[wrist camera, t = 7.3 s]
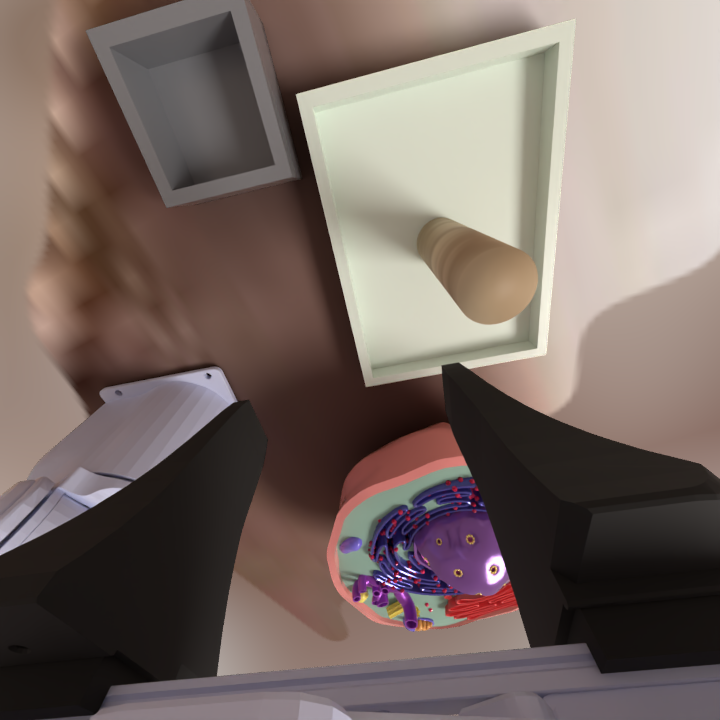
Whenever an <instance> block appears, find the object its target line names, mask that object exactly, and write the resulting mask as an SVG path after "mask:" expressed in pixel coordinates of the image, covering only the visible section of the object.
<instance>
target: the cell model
mask: <svg viewBox="0 0 720 720" xmlns="http://www.w3.org/2000/svg"><path fill="white" fill-rule="evenodd" d="M327 561H328V565H329V569H330V573H331V577H332V580H333V583H334V585H335V587H336V589H337V591H338V592H339V593H340V595H341V596H342V597H343V598H344V599H345V600H347V601H348V602H349V603H351V604H352V605H353V606H354V607H355V608H357V609H358V610H359V611H360V612H361V613H363V614H364V615H365V616H366V617H368V618H369V619H371V620H372V621H374V622H377V623H380V624H385V625H392V626H399V627H406V629H407V630H409V631H413V632H414V630H416V631H420V630H423V631H425V630H428V629H443V628H451V627H457V626H462V625H465V624H468V623H470V622H473V621H477V620H481V619H485V618H489V617H493V616H497V615H502V614H506V613H511V612H513V611H516V610H519V608H518V605H517V602H516V598H515V595H514V592H513V589H512V586H511V583H510V580H509V577H508V573H507V570H506V567H505V564H504V561H503V558H502V555H501V552H500V549H499V546H498V543H497V540H496V537H495V534H494V531H493V528H492V525H491V522H490V520H489V517H488V514H487V511H486V508H485V505H484V502H483V500H482V497H481V495H480V492H479V490H478V488H477V485H476V483H475V481H474V479H473V477H472V475H471V472H470V470H469V468H468V466H467V464H466V462H465V459H464V457H463V455H462V453H461V451H460V449H459V446H458V444H457V442H456V440H455V438H454V435H453V433H452V429H451V426H450V423H444V422H441V423H436V424H433V425H431V426H429V427H427V428H424V429H421V430H418V431H415V432H412V433H410V434H407V435H405V436H402V437H400V438H397V439H395V440H393V441H391V442H389V443H387V444H386V445H384V446H382V447H380V448H379V449H377V450H375V451H374V452H372V453H370V454H368V455H367V456H365V457H364V458H363V459H362V460H360V461H359V462H358V463H357V464H356V465H355V466H354V467H353V468H352V469H351V470H350V472H349V473H348V475H347V476H346V478H345V481H344V484H343V487H342V492H341V498H340V505H339V511H338V514H337V516H336V520H335V524H334V527H333V531H332V534H331V538H330V541H329V545H328V548H327Z"/></svg>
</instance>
